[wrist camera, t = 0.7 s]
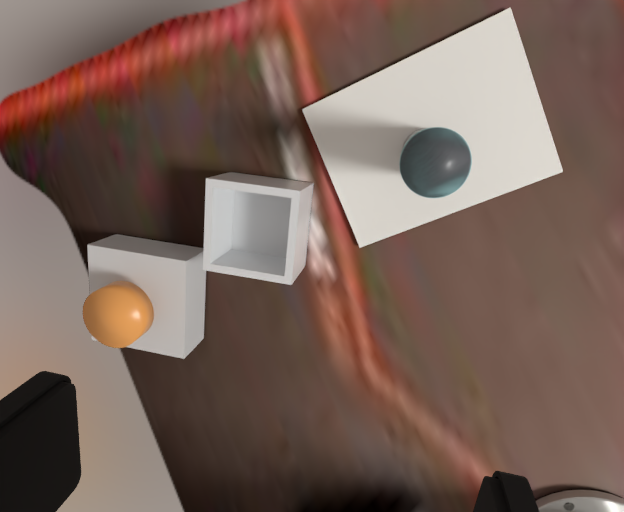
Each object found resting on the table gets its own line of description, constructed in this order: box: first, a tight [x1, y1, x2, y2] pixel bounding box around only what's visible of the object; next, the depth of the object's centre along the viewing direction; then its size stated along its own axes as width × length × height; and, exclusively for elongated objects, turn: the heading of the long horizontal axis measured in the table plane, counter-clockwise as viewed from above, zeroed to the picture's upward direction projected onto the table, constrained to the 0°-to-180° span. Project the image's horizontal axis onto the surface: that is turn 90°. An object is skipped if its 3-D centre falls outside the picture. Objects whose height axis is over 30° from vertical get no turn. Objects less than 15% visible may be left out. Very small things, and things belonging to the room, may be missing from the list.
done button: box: [83, 281, 154, 348], centre depth 36 cm, size 5×5×2 cm
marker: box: [399, 127, 472, 198], centre depth 29 cm, size 4×4×11 cm
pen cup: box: [203, 172, 314, 285], centre depth 36 cm, size 7×7×5 cm
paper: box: [302, 7, 563, 248], centre depth 34 cm, size 16×12×1 cm
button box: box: [87, 234, 206, 359], centre depth 40 cm, size 9×9×4 cm
